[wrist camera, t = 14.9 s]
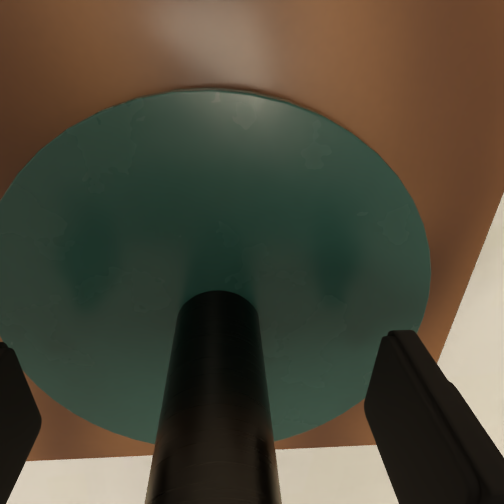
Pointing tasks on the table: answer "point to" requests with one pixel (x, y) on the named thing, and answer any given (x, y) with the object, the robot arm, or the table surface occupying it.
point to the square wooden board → (290, 88)
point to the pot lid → (208, 279)
